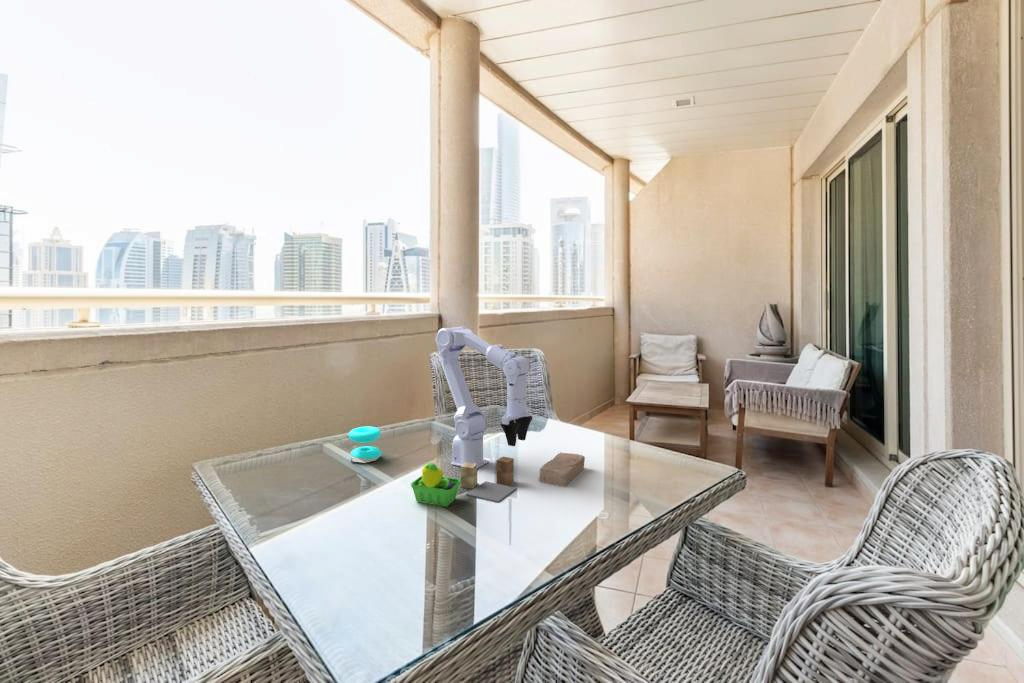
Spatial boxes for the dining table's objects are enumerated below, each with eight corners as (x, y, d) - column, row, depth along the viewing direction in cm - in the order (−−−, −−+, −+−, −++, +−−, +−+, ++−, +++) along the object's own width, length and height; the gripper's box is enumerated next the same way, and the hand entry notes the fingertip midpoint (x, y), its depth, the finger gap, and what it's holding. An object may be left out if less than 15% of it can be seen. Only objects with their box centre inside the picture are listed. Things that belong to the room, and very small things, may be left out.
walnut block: (496, 484, 141) (496, 460, 141) (502, 479, 145) (502, 456, 144) (507, 486, 140) (507, 462, 139) (513, 482, 143) (513, 458, 142)
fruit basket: (462, 497, 132) (461, 456, 131) (447, 511, 124) (446, 467, 123) (424, 492, 136) (423, 452, 135) (407, 505, 128) (406, 462, 127)
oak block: (461, 487, 139) (460, 466, 138) (465, 482, 143) (465, 462, 142) (473, 488, 138) (473, 467, 138) (477, 483, 142) (477, 463, 141)
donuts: (372, 434, 156) (342, 433, 157) (373, 465, 157) (344, 463, 158) (385, 425, 166) (356, 424, 167) (386, 455, 167) (357, 453, 168)
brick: (564, 488, 139) (565, 472, 139) (537, 482, 143) (537, 467, 142) (585, 469, 153) (585, 455, 153) (560, 465, 157) (560, 451, 157)
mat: (466, 495, 134) (466, 493, 134) (485, 482, 142) (485, 481, 142) (498, 502, 129) (498, 501, 129) (516, 489, 138) (516, 487, 138)
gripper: (516, 404, 138) (517, 451, 139) (539, 394, 150) (539, 438, 152) (495, 401, 141) (495, 447, 142) (519, 392, 154) (519, 434, 155)
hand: (516, 442), depth 147 cm, fingers open, 6 cm apart
